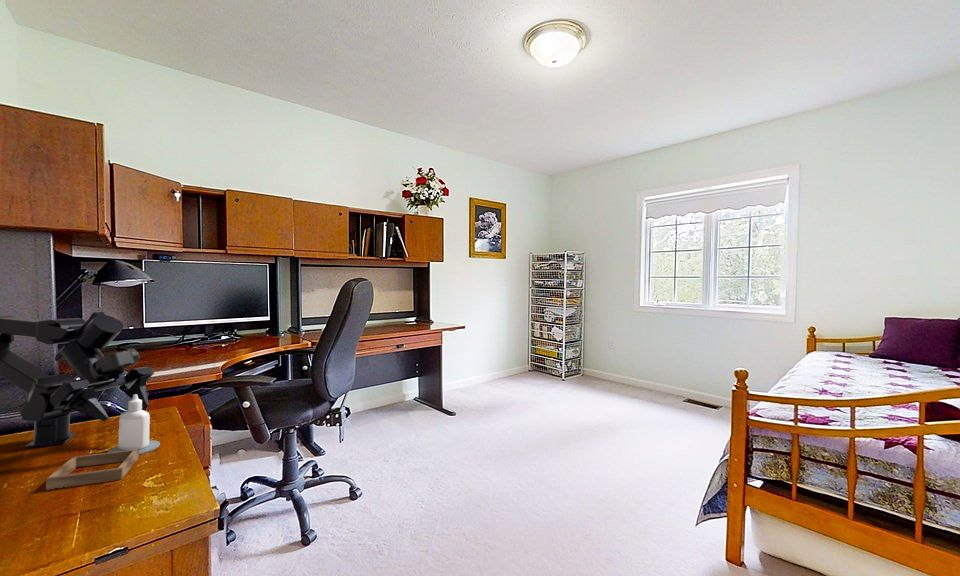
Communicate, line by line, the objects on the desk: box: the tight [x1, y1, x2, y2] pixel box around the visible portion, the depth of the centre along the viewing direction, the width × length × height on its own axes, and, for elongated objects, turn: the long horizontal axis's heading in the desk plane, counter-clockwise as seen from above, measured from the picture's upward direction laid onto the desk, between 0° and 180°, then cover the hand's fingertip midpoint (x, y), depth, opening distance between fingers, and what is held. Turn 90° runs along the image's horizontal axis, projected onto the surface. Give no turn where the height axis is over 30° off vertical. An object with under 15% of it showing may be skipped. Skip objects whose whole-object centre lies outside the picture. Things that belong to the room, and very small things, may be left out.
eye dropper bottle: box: [117, 394, 151, 450], centre depth 91 cm, size 4×6×12 cm
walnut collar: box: [45, 449, 140, 491], centre depth 80 cm, size 11×11×2 cm
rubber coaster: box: [107, 439, 161, 456], centre depth 91 cm, size 9×9×1 cm
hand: (127, 413), depth 92 cm, fingers open, 9 cm apart
